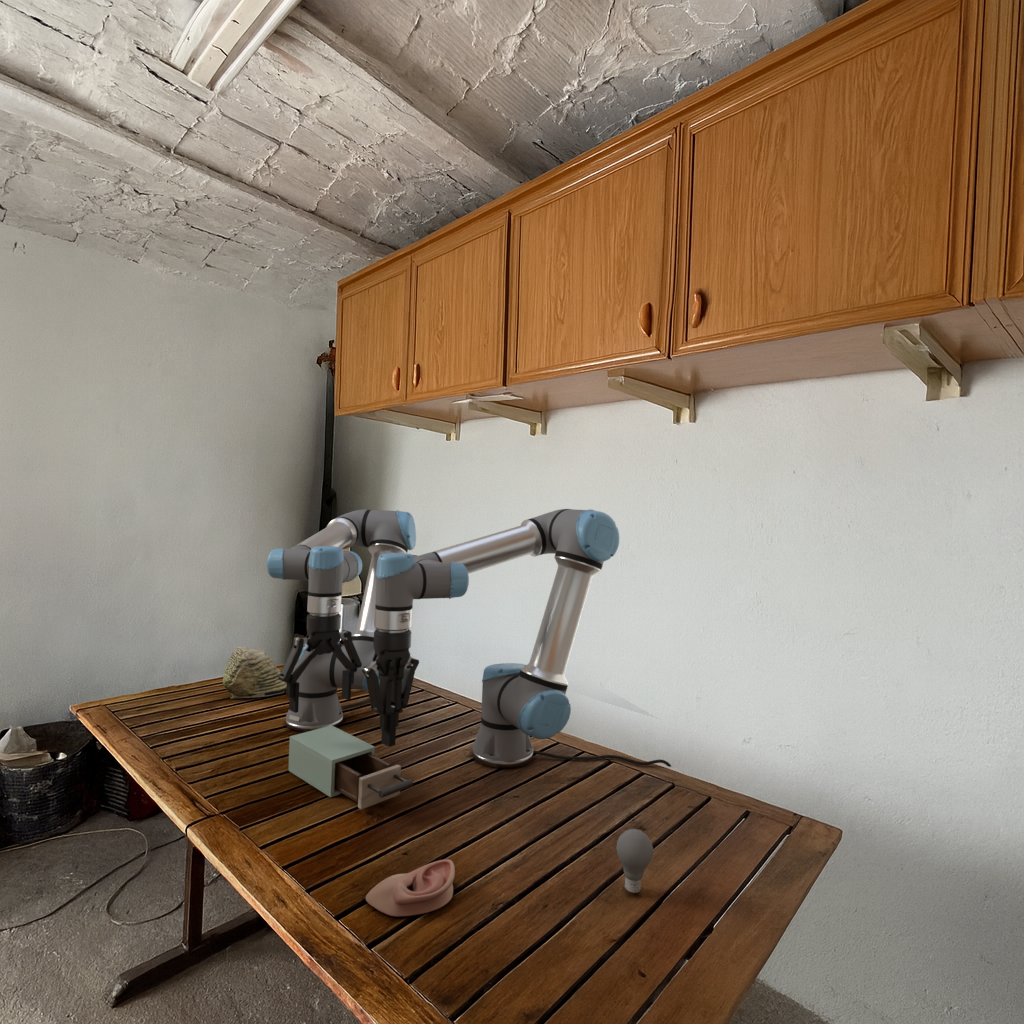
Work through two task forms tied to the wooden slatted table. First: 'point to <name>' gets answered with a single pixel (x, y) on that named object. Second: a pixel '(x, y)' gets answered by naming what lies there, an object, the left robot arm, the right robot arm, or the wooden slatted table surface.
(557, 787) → the wooden slatted table surface
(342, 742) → the cabinet
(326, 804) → the wooden slatted table surface
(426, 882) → the anatomical model
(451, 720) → the wooden slatted table surface
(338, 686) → the left robot arm
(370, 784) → the drawer
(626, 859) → the light bulb
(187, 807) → the wooden slatted table surface
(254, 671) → the fossil
